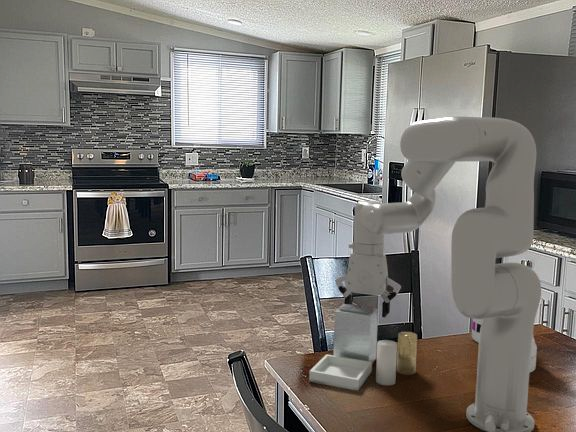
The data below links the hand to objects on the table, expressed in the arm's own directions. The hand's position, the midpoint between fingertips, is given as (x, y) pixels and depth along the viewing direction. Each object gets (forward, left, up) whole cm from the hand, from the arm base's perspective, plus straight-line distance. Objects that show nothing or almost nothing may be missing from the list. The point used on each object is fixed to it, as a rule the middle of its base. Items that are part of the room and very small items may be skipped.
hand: (366, 313), depth 150 cm
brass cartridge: (-10, -13, -10) cm, 19 cm away
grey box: (-9, 0, -10) cm, 13 cm away
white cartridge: (-18, -10, -10) cm, 23 cm away
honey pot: (+6, -35, -10) cm, 37 cm away
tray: (-20, 0, -10) cm, 22 cm away
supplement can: (+21, -29, -10) cm, 37 cm away
